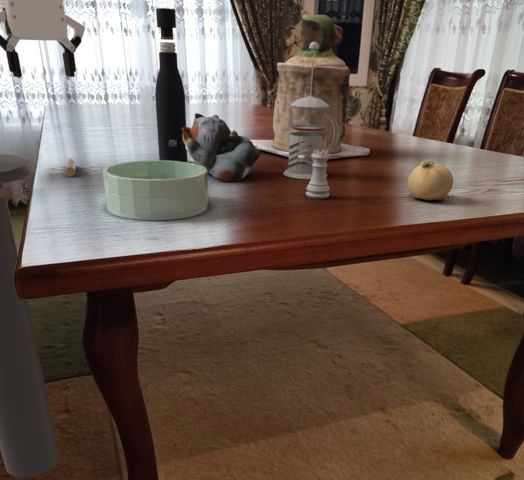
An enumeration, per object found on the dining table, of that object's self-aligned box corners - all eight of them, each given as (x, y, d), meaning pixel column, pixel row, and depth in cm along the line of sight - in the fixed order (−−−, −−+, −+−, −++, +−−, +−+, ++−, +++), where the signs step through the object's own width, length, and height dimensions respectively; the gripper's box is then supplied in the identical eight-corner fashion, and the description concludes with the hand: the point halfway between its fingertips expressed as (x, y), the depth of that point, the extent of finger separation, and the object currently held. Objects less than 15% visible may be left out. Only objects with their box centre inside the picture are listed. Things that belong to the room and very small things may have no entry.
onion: (412, 192, 102) (418, 153, 99) (453, 198, 99) (462, 158, 95) (399, 200, 96) (406, 159, 93) (443, 206, 93) (451, 165, 89)
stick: (77, 175, 106) (73, 166, 105) (68, 177, 106) (64, 168, 105) (76, 165, 114) (73, 157, 113) (68, 168, 114) (65, 159, 113)
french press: (297, 168, 120) (305, 42, 108) (343, 175, 115) (356, 43, 102) (274, 174, 113) (279, 40, 101) (321, 182, 108) (333, 41, 95)
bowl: (125, 225, 78) (121, 183, 75) (95, 200, 90) (90, 163, 87) (224, 213, 85) (224, 175, 82) (184, 191, 97) (182, 157, 94)
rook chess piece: (306, 199, 95) (310, 152, 91) (303, 193, 99) (306, 148, 95) (331, 199, 95) (335, 153, 91) (327, 194, 99) (331, 149, 95)
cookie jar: (304, 163, 125) (315, 3, 109) (242, 149, 142) (244, 8, 126) (373, 155, 139) (391, 12, 123) (309, 143, 155) (318, 15, 140)
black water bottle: (176, 159, 125) (169, 10, 110) (193, 164, 121) (188, 9, 106) (154, 162, 121) (143, 8, 106) (170, 167, 117) (161, 7, 102)
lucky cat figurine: (240, 185, 103) (203, 117, 96) (196, 200, 110) (159, 138, 103) (271, 151, 112) (240, 87, 105) (229, 168, 119) (197, 109, 113)
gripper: (68, -30, 97) (82, 75, 105) (-35, -40, 87) (-10, 76, 96) (84, -34, 91) (97, 77, 100) (-24, -45, 82) (0, 78, 91)
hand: (44, 76), depth 98 cm, fingers open, 9 cm apart
